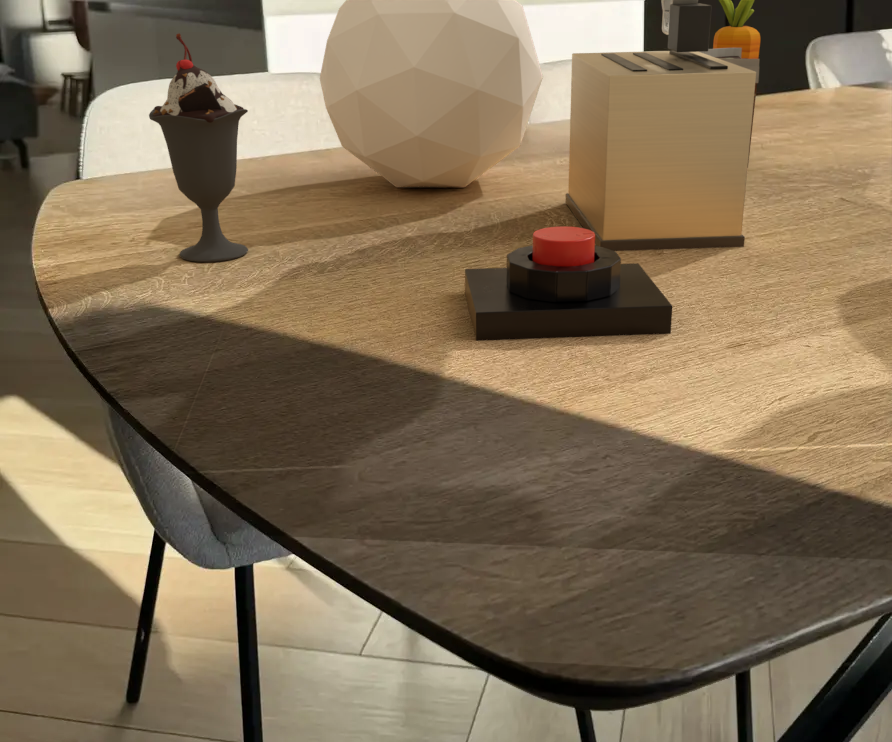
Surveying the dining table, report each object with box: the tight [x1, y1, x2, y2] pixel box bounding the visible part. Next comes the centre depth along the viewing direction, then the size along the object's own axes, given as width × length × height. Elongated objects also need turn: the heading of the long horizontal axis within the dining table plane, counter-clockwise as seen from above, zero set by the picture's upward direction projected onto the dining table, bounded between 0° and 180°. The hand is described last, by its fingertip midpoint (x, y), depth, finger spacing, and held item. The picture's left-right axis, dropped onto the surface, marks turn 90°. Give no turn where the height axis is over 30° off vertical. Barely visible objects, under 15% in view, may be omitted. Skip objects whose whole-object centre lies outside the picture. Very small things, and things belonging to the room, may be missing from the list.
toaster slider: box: [667, 2, 713, 52], centre depth 84 cm, size 2×3×3 cm
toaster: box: [564, 50, 756, 252], centre depth 85 cm, size 10×16×12 cm, turn 3°
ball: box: [319, 0, 544, 189], centre depth 99 cm, size 19×20×20 cm
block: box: [464, 244, 673, 342], centre depth 66 cm, size 11×9×4 cm
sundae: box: [148, 32, 249, 263], centre depth 78 cm, size 7×7×15 cm
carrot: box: [712, 0, 761, 59], centre depth 121 cm, size 5×5×15 cm
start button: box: [532, 226, 595, 266], centre depth 65 cm, size 4×4×2 cm
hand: (676, 35), depth 87 cm, fingers closed
